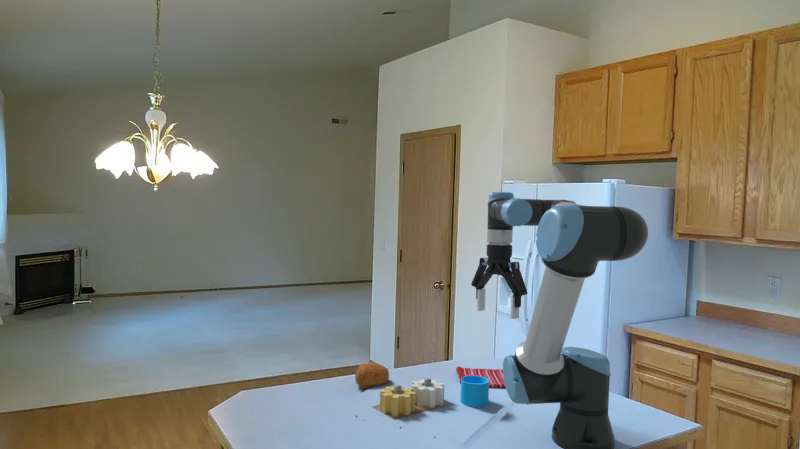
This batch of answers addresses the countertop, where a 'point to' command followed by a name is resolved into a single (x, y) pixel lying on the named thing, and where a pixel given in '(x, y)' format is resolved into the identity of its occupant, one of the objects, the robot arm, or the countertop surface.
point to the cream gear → (428, 393)
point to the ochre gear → (397, 401)
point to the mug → (474, 391)
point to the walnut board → (417, 409)
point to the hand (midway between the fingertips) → (497, 314)
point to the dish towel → (484, 375)
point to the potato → (371, 375)
